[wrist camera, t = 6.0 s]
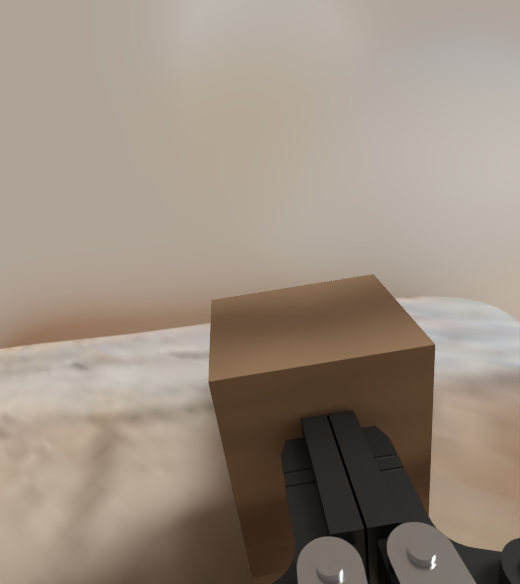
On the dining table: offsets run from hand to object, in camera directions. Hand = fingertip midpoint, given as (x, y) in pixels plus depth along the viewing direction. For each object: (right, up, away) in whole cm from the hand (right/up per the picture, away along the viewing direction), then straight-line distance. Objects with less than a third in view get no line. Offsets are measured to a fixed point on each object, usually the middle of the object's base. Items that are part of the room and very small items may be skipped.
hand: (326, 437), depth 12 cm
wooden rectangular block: (+1, -8, +7) cm, 11 cm away
